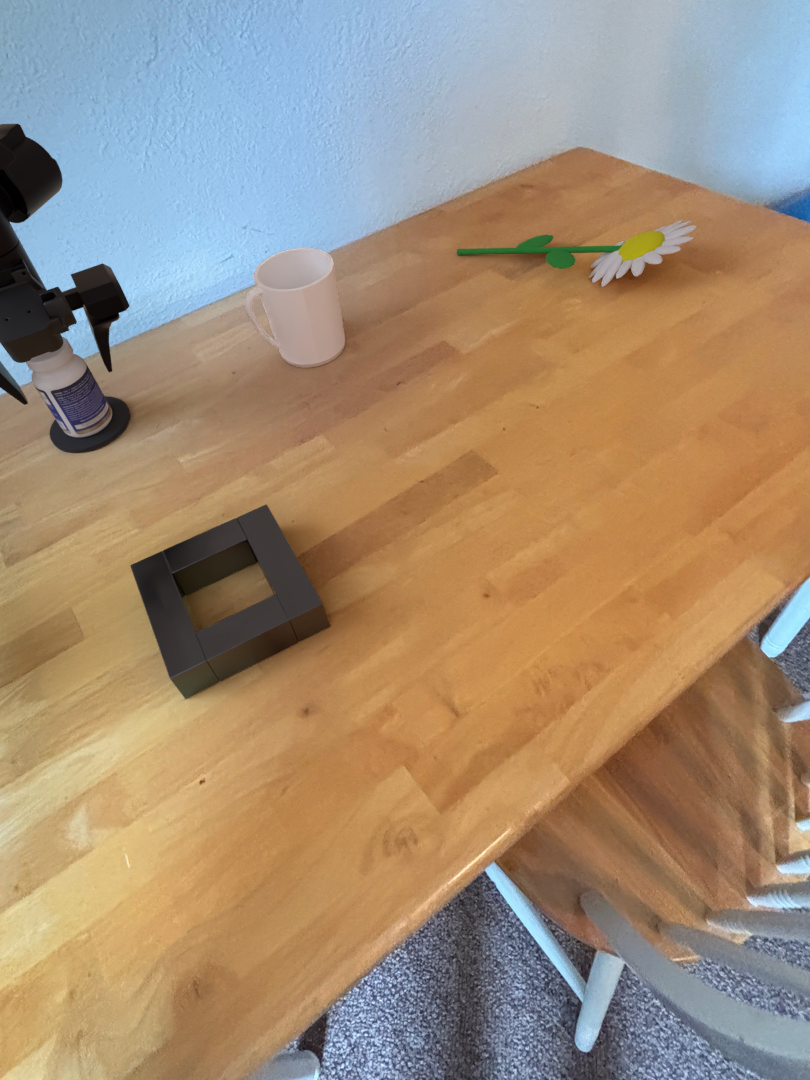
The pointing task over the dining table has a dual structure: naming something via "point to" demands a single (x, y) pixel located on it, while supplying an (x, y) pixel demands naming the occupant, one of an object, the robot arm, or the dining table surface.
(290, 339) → the mug
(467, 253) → the decorative flower
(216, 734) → the dining table surface
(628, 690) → the dining table surface
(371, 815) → the dining table surface
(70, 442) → the coaster
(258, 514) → the stand
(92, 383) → the pill bottle
